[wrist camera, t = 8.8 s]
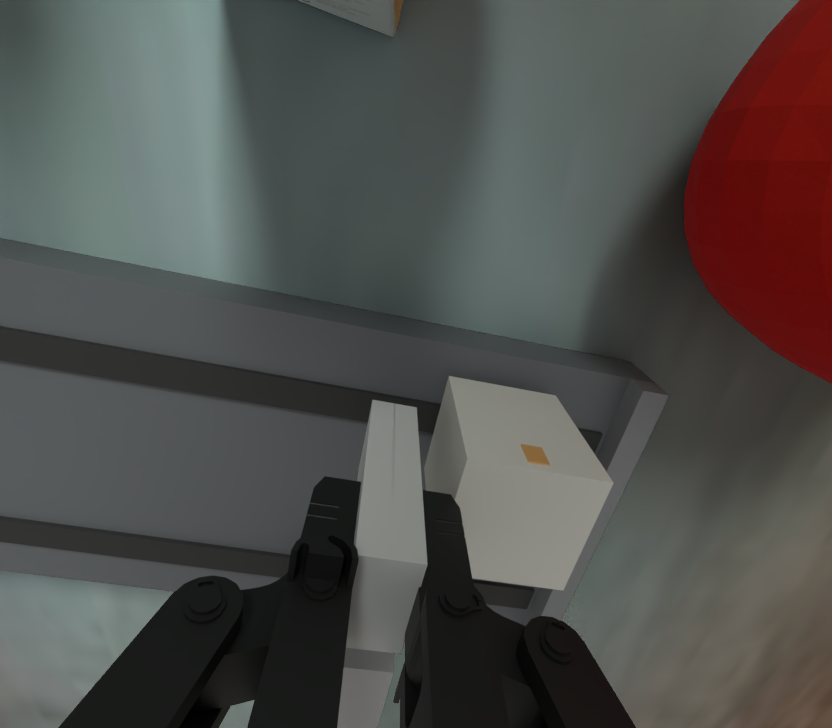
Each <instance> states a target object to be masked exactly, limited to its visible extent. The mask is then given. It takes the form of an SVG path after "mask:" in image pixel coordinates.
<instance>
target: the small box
mask: <svg viewBox="0 0 832 728" xmlns="http://www.w3.org/2000/svg"><path fill="white" fill-rule="evenodd" d="M298 1H301V2H303V3H306V4H308V5H311V6H314V7H316V8H319V9H321V10H324V11H326V12H329V13H331V14H334V15H336V16H339V17H342V18H344V19H347V20H349V21H352V22H355V23H357V24H360V25H362V26H365V27H368V28H370V29H373V30H375V31H378V32H381V33H383V34H385V35H388V36H391V37H393V36H395V34H396V32H397V28H398V24H399V19H400V14H401V10H402V6H403V2H404V0H298Z"/></svg>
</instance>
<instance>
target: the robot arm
mask: <svg viewBox="0 0 832 728" xmlns="http://www.w3.org/2000/svg"><path fill="white" fill-rule="evenodd" d="M462 523H463V522H462V516H461V511H460V507H459V506H458V504H457V503H456V501H455V500H454V498H453V497H452V496H451V494H445V493H439V492H432V491H426V490H422V477H421V462H420V448H419V433H418V418H417V407H412V406H406V405H400V404H395V403H389V402H383V401H377V400H372V405H371V410H370V415H369V420H368V425H367V430H366V435H365V440H364V444H363V449H362V454H361V459H360V464H359V470H358V478H357V481H353V480H347V479H340V478H334V477H327V476H325V477H324V478H323V479H322V480H321V481H320V482H319V483H318V484H317V485H316V486H315V487H314V489H313V493H312V496H311V500H310V504H309V508H308V511H307V516H306V519H305V523H304V527H303V530H302V534H301V538H300V539H298V540H297V541H296V543H295V544H294V546H293V548H292V550H291V554H290V561H289V568H288V572H287V573H286V574H285V575H284V576H283V577H282V578H280V579H279V580H277V581H275V582H273V583H271V584H269V585H265V586H262V587H257V588H251V589H245V590H240V588H239V587H238V585H237V584H236V583H235V582H233V581H231V580H230V579H228V578H226V577H220V576H214V575H212V576H205V577H198V578H196V579H194V580H191V581H189V582H187V583H185V584H183V585H182V586H181V587H180V588H179V589H178V590H176V591H175V592H174V593H173V594H172V595H171V596H170V597H169V599H168V600H167V601H166V602H165V603H164V604H163V606H162V607H161V608H160V609H159V610H158V611H157V613H156V614H155V615H154V616H153V617H152V619H151V620H150V621H149V622H148V623H147V624H146V626H145V627H144V628H143V629H142V630H141V631H140V633H139V634H138V635H137V636H136V637H135V638H134V640H133V641H132V642H131V643H130V644H129V646H128V647H127V648H126V649H125V650H124V651H123V653H122V654H121V655H120V656H119V657H118V658H117V660H116V661H115V662H114V663H113V664H112V665H111V667H110V668H109V669H108V670H107V671H106V673H105V674H104V675H103V676H102V677H101V678H100V680H99V681H98V682H97V683H96V684H95V685H94V687H93V688H92V689H91V690H90V691H89V692H88V694H87V695H86V696H85V697H84V698H83V699H82V701H81V702H80V703H79V704H78V705H77V707H76V708H75V709H74V710H73V711H72V712H71V714H70V715H69V716H68V717H67V718H66V719H65V721H64V722H63V723H62V724H61V725H60V726H59V728H219V726H220V724H221V722H222V721H223V719H224V717H225V715H226V713H227V712H228V710H229V708H230V706H231V705H235V704H239V703H243V702H247V701H251V700H255V701H254V705H253V709H252V712H251V716H250V720H249V724H248V727H247V728H337V724H338V715H339V706H340V697H341V688H342V679H343V669H344V660H345V651H346V648H353V649H362V650H371V651H380V652H389V653H397V654H401V651H402V648H403V645H404V641H405V663H404V666H403V669H402V672H401V676H400V679H399V682H398V685H397V689H396V692H395V697H394V702H393V703H399V700H400V728H636V727H635V725H634V724H633V722H632V720H631V719H630V717H629V715H628V714H627V712H626V710H625V709H624V707H623V705H622V704H621V702H620V701H619V699H618V697H617V696H616V694H615V692H614V691H613V689H612V687H611V686H610V684H609V682H608V681H607V679H606V677H605V676H604V674H603V672H602V671H601V669H600V667H599V666H598V664H597V663H596V661H595V659H594V658H593V656H592V654H591V653H590V651H589V649H588V648H587V646H586V644H585V643H584V641H583V640H582V639H581V638H580V636H579V635H578V634H577V632H576V631H575V630H574V629H572V628H571V627H570V626H568V625H567V624H566V623H564V622H563V621H560V620H558V619H556V618H553V617H548V616H538V617H535V618H533V619H531V620H530V621H529V622H528V624H527V625H526V626H524V625H522V624H520V623H517V622H515V621H513V620H510V619H508V618H506V617H503V616H502V615H500V614H498V613H496V612H494V611H493V610H492V609H491V608H489V607H488V606H487V605H486V603H485V600H484V598H483V596H482V594H481V593H480V592H479V591H478V590H477V589H476V587H475V586H474V584H473V580H472V574H471V568H470V562H469V557H468V551H467V545H466V539H465V538H464V536H465V534H464V528H463V525H462Z"/></svg>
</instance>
